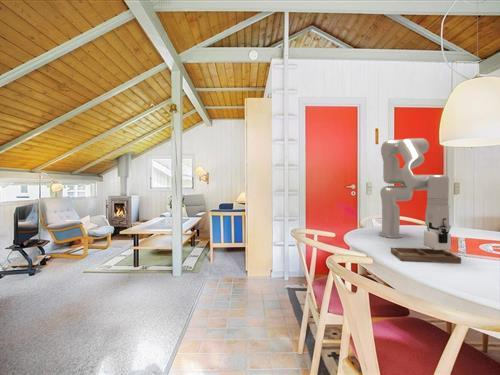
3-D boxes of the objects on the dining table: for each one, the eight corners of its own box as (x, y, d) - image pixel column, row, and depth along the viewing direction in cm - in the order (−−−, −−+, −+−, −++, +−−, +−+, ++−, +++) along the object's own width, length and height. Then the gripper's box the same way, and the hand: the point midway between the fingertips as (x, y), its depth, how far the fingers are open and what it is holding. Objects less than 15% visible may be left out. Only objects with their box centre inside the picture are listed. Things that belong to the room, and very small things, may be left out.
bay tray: (390, 252, 116) (390, 247, 116) (442, 254, 112) (443, 249, 112) (402, 261, 104) (402, 255, 104) (460, 263, 100) (461, 257, 100)
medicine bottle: (451, 249, 103) (451, 222, 103) (435, 250, 103) (435, 223, 103) (438, 245, 110) (438, 220, 110) (423, 245, 110) (423, 220, 110)
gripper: (418, 200, 115) (417, 235, 116) (440, 204, 98) (439, 245, 99) (435, 200, 114) (434, 236, 114) (460, 204, 97) (460, 246, 97)
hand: (437, 240), depth 107 cm, fingers closed on medicine bottle, 7 cm apart
